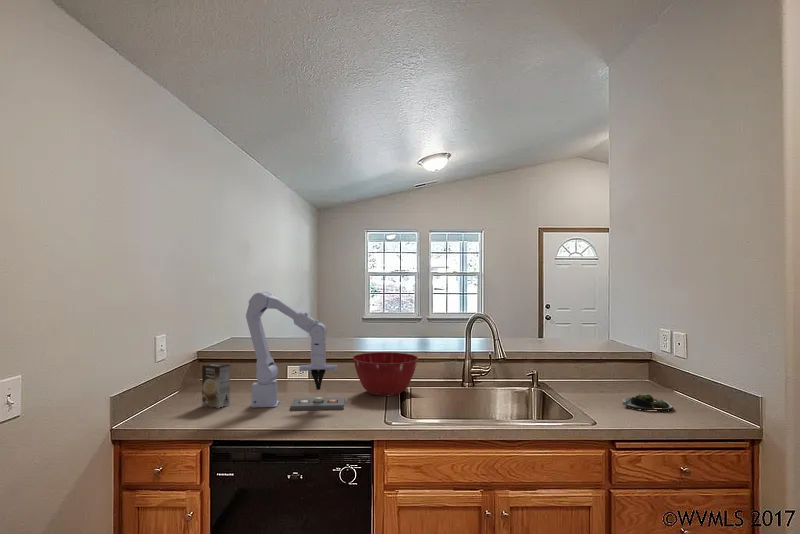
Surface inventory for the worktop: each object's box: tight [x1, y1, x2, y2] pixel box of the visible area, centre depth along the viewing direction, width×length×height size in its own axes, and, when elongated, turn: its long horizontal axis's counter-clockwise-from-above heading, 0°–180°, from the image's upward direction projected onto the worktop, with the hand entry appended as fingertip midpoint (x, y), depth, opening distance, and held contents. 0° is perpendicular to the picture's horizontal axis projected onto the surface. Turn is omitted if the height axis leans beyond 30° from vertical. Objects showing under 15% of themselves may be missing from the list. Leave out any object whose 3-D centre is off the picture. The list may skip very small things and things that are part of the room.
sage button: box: [313, 396, 324, 403], centre depth 202 cm, size 3×3×2 cm
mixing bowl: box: [352, 351, 419, 397], centre depth 223 cm, size 28×28×16 cm
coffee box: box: [201, 362, 231, 409], centre depth 202 cm, size 9×6×16 cm
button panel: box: [289, 397, 346, 411], centre depth 202 cm, size 20×12×2 cm, turn 94°
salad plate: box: [621, 393, 674, 411], centre depth 201 cm, size 19×18×5 cm
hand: (318, 389), depth 202 cm, fingers closed
